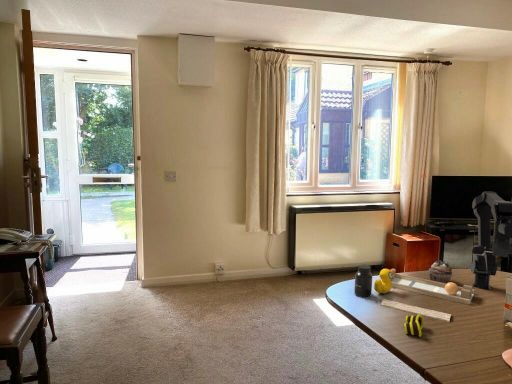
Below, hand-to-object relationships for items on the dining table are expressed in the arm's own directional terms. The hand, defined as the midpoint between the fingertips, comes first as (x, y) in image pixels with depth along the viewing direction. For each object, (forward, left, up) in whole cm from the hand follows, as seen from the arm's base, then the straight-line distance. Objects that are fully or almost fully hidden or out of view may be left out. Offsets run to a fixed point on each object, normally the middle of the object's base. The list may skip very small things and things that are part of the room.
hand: (500, 275), depth 140 cm
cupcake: (-14, -23, -13) cm, 30 cm away
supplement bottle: (+23, -45, -13) cm, 52 cm away
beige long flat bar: (+24, -24, -13) cm, 37 cm away
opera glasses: (+42, -21, -13) cm, 48 cm away
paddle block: (0, -11, -12) cm, 16 cm away
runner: (0, -25, -12) cm, 28 cm away
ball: (0, -16, -12) cm, 20 cm away
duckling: (+15, -39, -13) cm, 44 cm away
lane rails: (0, -25, -12) cm, 28 cm away
